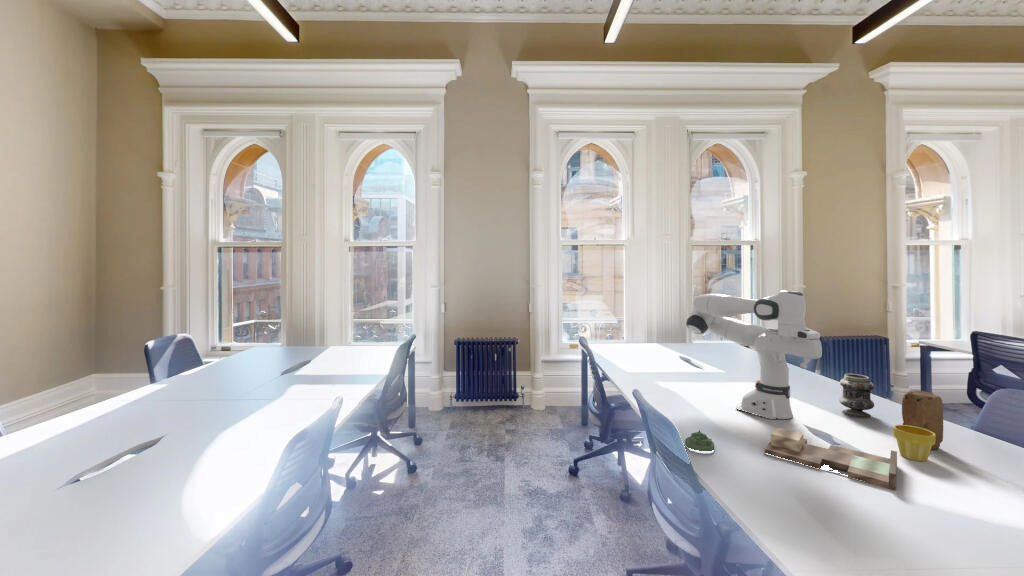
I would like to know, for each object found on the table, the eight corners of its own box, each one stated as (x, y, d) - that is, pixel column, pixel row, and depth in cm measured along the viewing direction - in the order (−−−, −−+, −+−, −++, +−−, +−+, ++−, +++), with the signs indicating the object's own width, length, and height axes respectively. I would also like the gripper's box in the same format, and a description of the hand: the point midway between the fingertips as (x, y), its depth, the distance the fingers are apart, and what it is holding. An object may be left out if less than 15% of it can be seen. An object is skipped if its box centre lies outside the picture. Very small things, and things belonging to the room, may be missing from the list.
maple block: (771, 444, 144) (771, 433, 144) (776, 437, 150) (776, 427, 150) (798, 451, 138) (798, 440, 138) (803, 443, 144) (803, 433, 144)
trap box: (764, 454, 140) (764, 441, 140) (777, 437, 155) (777, 424, 154) (895, 490, 116) (895, 474, 116) (896, 466, 130) (897, 451, 130)
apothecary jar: (870, 412, 179) (870, 374, 178) (877, 421, 169) (877, 380, 168) (836, 408, 185) (837, 371, 185) (841, 416, 175) (841, 377, 174)
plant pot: (922, 452, 139) (922, 426, 139) (943, 466, 130) (943, 437, 129) (886, 448, 143) (886, 422, 142) (904, 461, 133) (904, 434, 133)
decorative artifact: (709, 457, 140) (717, 447, 147) (709, 438, 139) (717, 429, 147) (681, 449, 146) (690, 440, 154) (681, 431, 146) (690, 423, 153)
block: (945, 451, 140) (946, 397, 139) (922, 450, 141) (923, 396, 140) (919, 438, 151) (919, 388, 150) (897, 437, 152) (898, 387, 151)
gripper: (760, 328, 160) (759, 361, 160) (814, 335, 141) (813, 372, 141) (770, 327, 162) (770, 359, 163) (825, 334, 143) (824, 370, 144)
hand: (790, 365), depth 152 cm, fingers open, 8 cm apart
